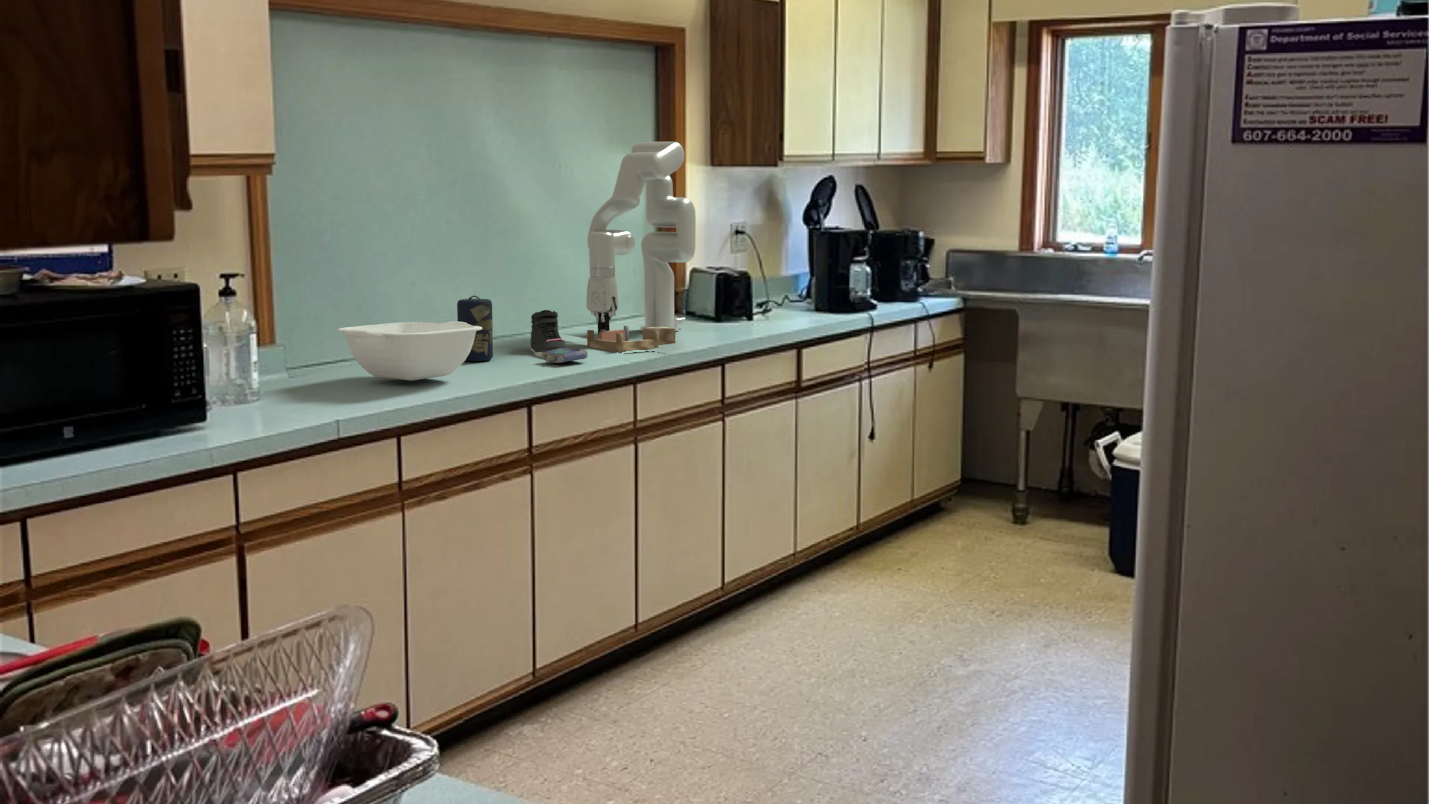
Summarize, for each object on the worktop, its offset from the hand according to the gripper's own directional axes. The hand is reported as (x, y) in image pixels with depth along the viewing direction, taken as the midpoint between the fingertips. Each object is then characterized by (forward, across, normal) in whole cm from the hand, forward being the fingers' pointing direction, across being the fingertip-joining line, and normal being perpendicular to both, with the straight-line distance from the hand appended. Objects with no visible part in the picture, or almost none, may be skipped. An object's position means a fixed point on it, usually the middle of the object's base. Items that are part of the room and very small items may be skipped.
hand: (603, 334), depth 411 cm
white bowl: (+2, +22, -78) cm, 81 cm away
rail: (+4, +2, +7) cm, 9 cm away
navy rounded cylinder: (+3, +3, -47) cm, 47 cm away
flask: (+4, +21, -27) cm, 35 cm away
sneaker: (+4, +4, -24) cm, 24 cm away
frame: (+4, +8, 0) cm, 9 cm away
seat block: (+5, +8, +14) cm, 17 cm away
